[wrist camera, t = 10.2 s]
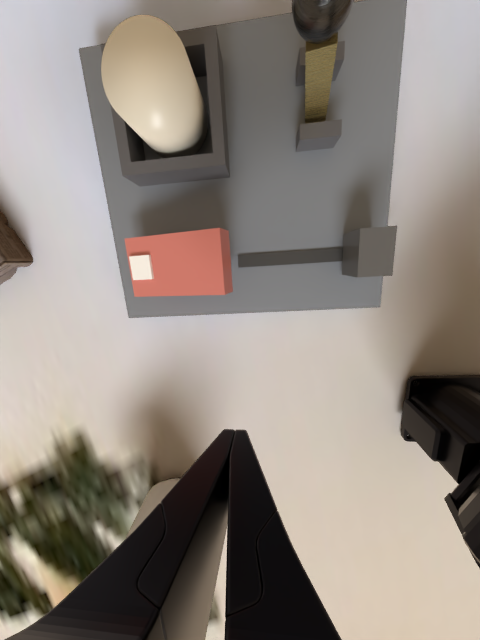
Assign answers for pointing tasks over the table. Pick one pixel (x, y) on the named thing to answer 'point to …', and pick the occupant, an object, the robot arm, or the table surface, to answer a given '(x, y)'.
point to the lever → (319, 49)
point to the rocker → (181, 263)
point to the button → (154, 86)
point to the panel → (265, 162)
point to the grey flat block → (11, 251)
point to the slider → (369, 252)
